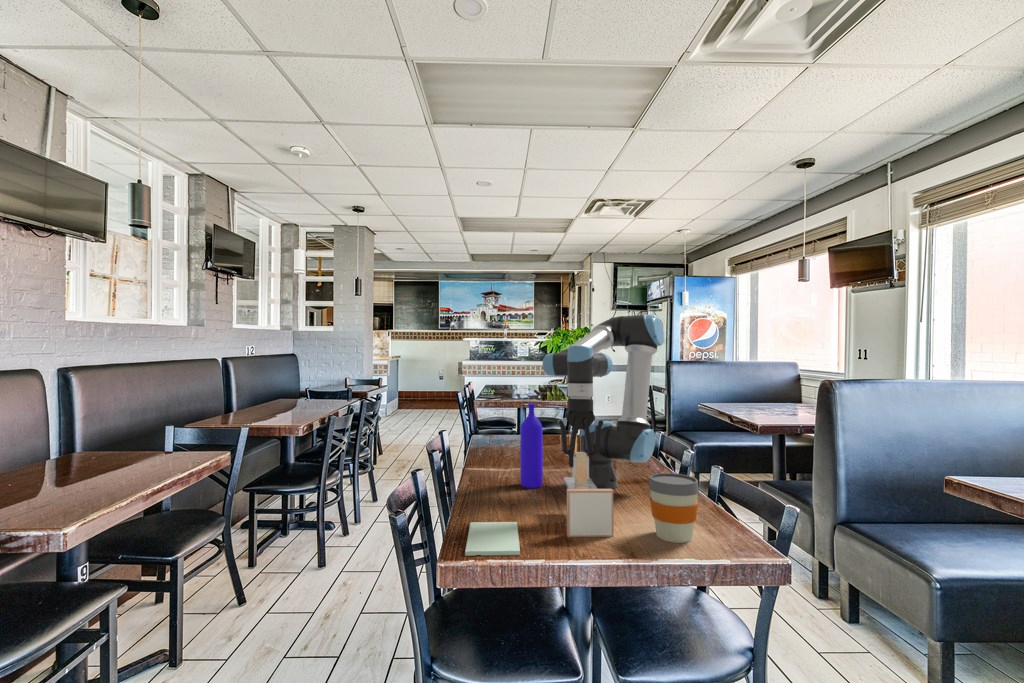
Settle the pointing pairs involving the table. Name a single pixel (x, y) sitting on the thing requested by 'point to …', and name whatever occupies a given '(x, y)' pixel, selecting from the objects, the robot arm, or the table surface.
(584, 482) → the beige post on base
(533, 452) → the bottle
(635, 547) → the table surface
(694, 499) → the reusable coffee cup
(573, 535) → the tile
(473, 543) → the rest mat
